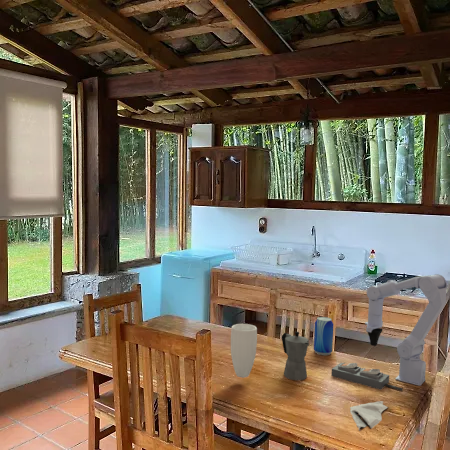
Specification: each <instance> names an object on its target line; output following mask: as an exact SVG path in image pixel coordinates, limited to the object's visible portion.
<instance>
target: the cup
mask: <svg viewBox="0 0 450 450" xmlns="http://www.w3.org/2000/svg"><path fill="white" fill-rule="evenodd" d="M230 329H231V330H230V331H231V332H230V356H231V361H232V366H233V370H234V372H235V375H236V376H237V377H239V378H248V377H249V376H250V374H251V372H252V368H253V366H254V364H255V359H256V355H257V347H258V346H257V344H258V328H257V326H256V325H253V324H250V323H249V324H248V323H236V324H233V325H232V326H231V328H230Z"/></svg>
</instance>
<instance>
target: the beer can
mask: <svg viewBox="0 0 450 450" xmlns="http://www.w3.org/2000/svg"><path fill="white" fill-rule="evenodd" d="M313 335H314V336H313V351H314V352H315V354H316V353H317V355H320V356H329V355H331V354H332V352H333V344H334V343H333V341H334V323H333V321H332V318H331V317H327V316H318V317H317V318H316V320H315V322H314V334H313Z"/></svg>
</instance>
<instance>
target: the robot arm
mask: <svg viewBox="0 0 450 450" xmlns="http://www.w3.org/2000/svg"><path fill="white" fill-rule="evenodd" d="M414 287H415V288H416V289H417V290H418V289H419V290H420V291H421V292H422V293H423V295H424V296H425V297H426V299H427V300H428V302H427V305H426V307H425V308H424V310H423V312H422V313H421V315H420V317H419V318H418V320H417V322H416V324H415V325H414V327H413V329H412V331H411V332H410V333H409V335H407V336H406V337H405V338H404V340H403V341H402V342H400V343H399V344H398V345H397V348H396V352H397V354H398V356H399V371H398V375H397V376H396V377H395V380H396V381H400V382H403V383H407V384H411V385H415V386H420V387H421V386H422V384H424V382H425V381H426V372H427V371H426V368H427V364H426V360H423V359H420V358H421V355H422V354H423V352H424V347H425V344H426V341H425V339H426V337H427V336H428V334H429V333H430V331H431V330H432V328H433V326H434V324H435V323H436V321H437V319H438V318H439V316H440V314H441V313H442V312H443V309H444V308H445V306H446V304H447V289H448V288H449V286H448V283H447V281H446V278H445V277H444V276H443V275H441V274H439V273H438V274H437V273H435V274H433V275H421V276H415V277H412V278H408V279H406V280H402V281H399V282H398V281H396V280H392V279H389V280H387V281H386V282H384V283H381V282H379V283H377V285H371V286H369V287H368V288H367V289H366V297H367V298H368V310H367V311H368V313H367V321H365V322H364V325H366V327H365V328H366V329H365V332H367V335H368V338H369V343H370V346H373V347H376V346H377V345H378V341H379V338H380V336H381V334H382V332H383V325H384V321H383V312H384V311H383V310H384V308H383V307H384V300H385V298H388V297H393V296H396V295H399V294H400V292H401V291H402V290H406V289H411V288H414Z"/></svg>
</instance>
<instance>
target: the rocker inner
mask: <svg viewBox="0 0 450 450" xmlns="http://www.w3.org/2000/svg"><path fill="white" fill-rule="evenodd" d="M362 372H364V373H368V374H378V373H379V372H381V369H379V368H366V369H365V370H363V371H362Z"/></svg>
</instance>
